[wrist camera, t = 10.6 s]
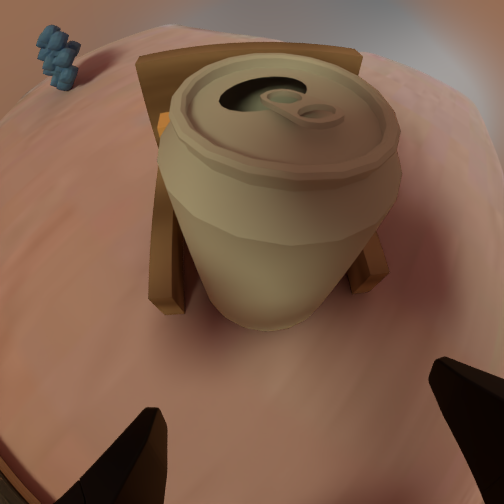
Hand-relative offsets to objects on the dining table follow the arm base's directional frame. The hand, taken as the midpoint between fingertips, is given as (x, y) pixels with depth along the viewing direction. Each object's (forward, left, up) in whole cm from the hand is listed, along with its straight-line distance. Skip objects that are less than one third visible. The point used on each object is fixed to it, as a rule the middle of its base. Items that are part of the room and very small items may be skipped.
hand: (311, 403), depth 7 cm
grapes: (+39, +24, -7) cm, 47 cm away
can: (+7, 0, -7) cm, 10 cm away
